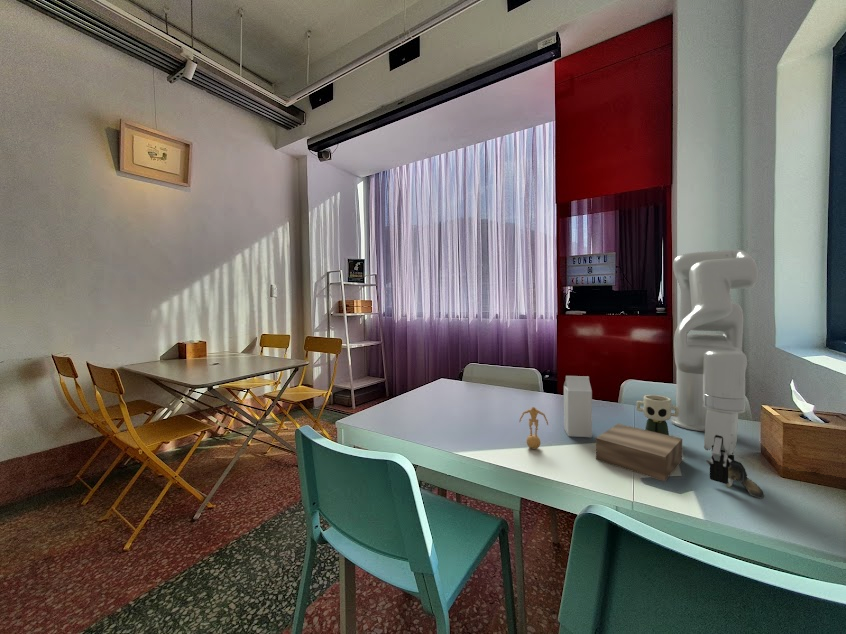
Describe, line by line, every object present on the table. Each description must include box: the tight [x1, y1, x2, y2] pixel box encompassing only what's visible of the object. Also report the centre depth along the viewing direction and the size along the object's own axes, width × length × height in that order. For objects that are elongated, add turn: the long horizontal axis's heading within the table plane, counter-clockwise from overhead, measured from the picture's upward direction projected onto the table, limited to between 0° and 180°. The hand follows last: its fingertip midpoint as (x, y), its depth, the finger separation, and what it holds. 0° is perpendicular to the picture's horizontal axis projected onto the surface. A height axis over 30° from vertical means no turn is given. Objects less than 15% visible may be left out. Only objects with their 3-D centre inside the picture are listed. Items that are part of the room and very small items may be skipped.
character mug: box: [636, 394, 679, 436], centre depth 107 cm, size 11×7×13 cm, turn 53°
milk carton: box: [563, 375, 593, 438], centre depth 113 cm, size 7×7×19 cm
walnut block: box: [595, 423, 683, 482], centre depth 93 cm, size 16×16×6 cm
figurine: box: [519, 406, 549, 450], centre depth 103 cm, size 8×6×12 cm
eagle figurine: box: [706, 458, 765, 499], centre depth 79 cm, size 8×7×9 cm
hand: (722, 474), depth 82 cm, fingers closed on eagle figurine, 7 cm apart
